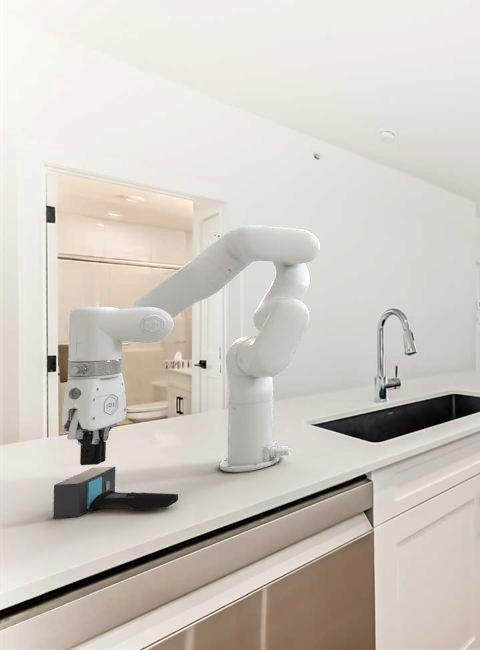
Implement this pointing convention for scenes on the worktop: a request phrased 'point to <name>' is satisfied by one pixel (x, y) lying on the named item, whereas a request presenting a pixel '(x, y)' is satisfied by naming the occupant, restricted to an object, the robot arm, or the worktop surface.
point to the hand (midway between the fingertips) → (92, 463)
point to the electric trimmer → (133, 500)
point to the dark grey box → (82, 491)
